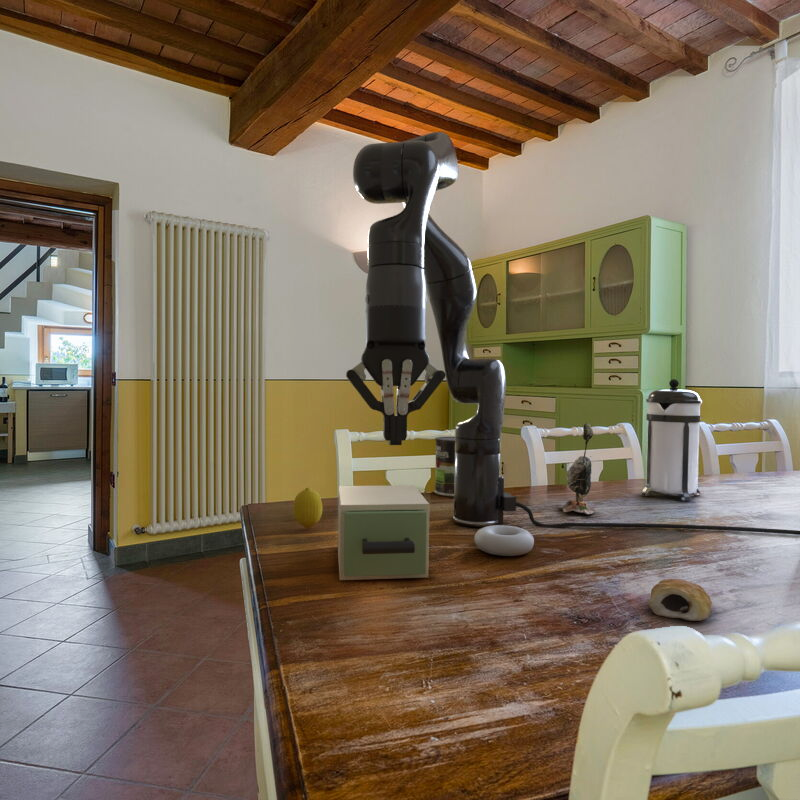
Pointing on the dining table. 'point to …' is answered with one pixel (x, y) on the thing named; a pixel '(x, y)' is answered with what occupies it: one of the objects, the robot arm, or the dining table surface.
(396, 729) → the dining table surface
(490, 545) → the donut
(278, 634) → the dining table surface
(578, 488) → the stone sculpture
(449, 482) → the coffee can
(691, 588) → the pastry
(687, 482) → the coffee press
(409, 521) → the drawer
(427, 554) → the small bedside cabinet
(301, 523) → the lemon
